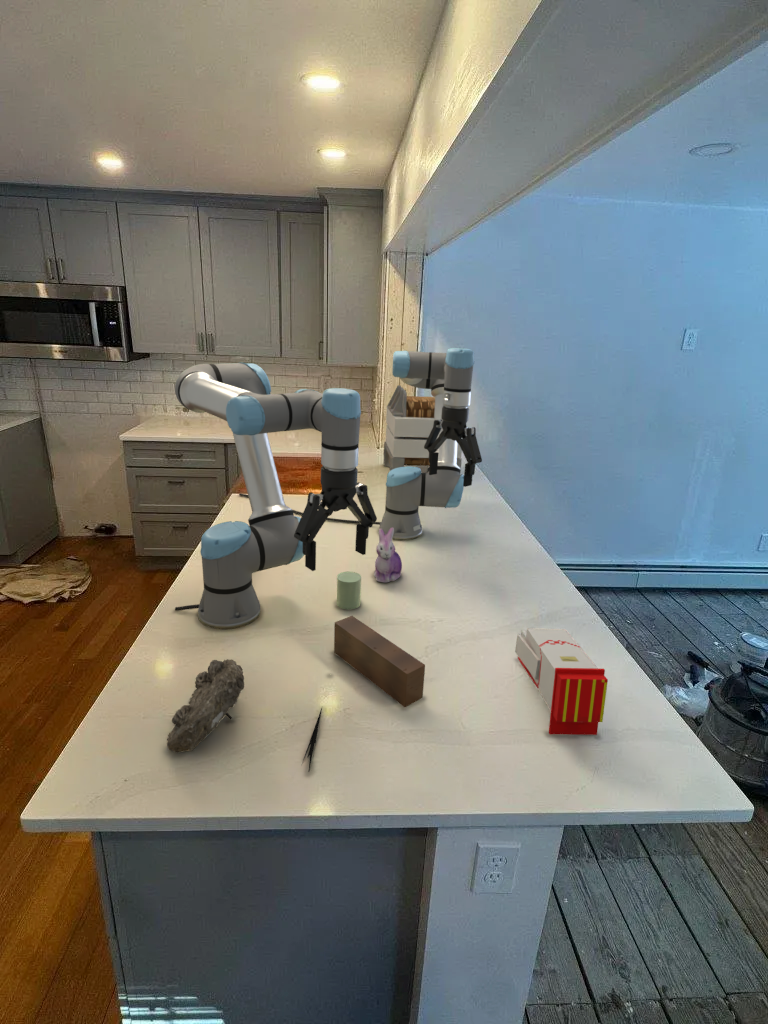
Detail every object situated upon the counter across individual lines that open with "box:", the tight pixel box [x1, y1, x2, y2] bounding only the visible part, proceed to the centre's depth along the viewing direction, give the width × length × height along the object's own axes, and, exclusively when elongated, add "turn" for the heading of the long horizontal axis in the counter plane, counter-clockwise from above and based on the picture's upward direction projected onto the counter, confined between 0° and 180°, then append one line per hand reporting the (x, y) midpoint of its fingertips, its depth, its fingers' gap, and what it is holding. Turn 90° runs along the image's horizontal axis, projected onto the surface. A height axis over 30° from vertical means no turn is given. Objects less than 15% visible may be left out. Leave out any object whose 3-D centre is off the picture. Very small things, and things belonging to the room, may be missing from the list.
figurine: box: [373, 528, 403, 583], centre depth 165 cm, size 9×10×15 cm
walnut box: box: [333, 615, 426, 708], centre depth 122 cm, size 24×5×8 cm, turn 41°
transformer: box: [383, 384, 463, 472], centre depth 268 cm, size 34×33×41 cm
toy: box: [514, 627, 609, 736], centre depth 119 cm, size 12×13×30 cm
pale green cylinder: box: [336, 571, 362, 611], centre depth 150 cm, size 6×6×8 cm
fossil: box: [166, 658, 245, 754], centre depth 106 cm, size 22×10×15 cm
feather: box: [301, 673, 332, 771], centre depth 108 cm, size 2×28×2 cm
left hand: (336, 560), depth 123 cm, fingers open, 13 cm apart
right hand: (449, 479), depth 164 cm, fingers open, 13 cm apart
